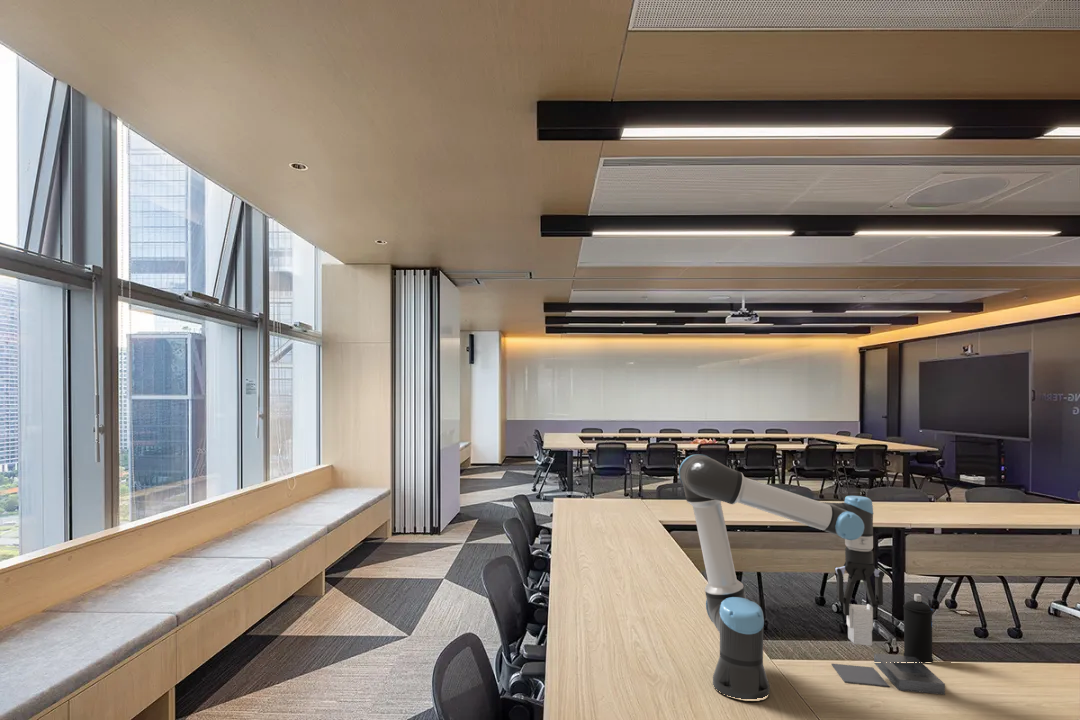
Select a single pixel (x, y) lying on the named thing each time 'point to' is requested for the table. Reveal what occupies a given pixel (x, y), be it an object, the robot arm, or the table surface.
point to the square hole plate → (909, 674)
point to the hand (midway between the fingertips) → (859, 626)
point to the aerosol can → (918, 630)
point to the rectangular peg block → (861, 625)
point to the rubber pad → (859, 675)
